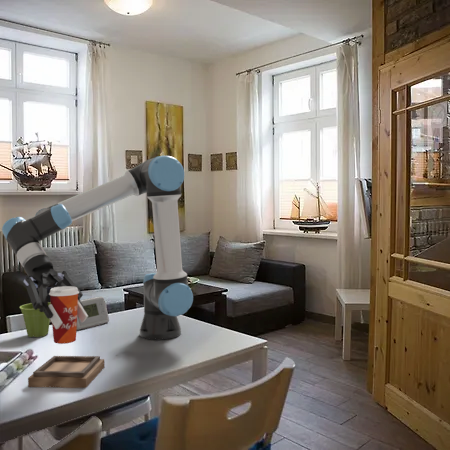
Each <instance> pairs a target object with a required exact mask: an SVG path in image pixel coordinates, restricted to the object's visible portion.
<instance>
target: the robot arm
mask: <svg viewBox="0 0 450 450" xmlns="http://www.w3.org/2000/svg"><path fill="white" fill-rule="evenodd" d="M184 180H185V170H184V167H183V165H182V163H181V162H180V161H179V160H178V159H177V158H175V157H173V156H170V155H160V156H159V155H158V156H155V157H152V158H148V159H147V160H145V161H143V162H141V163H140V164H139V165H136V166H134V167H133V168H131V169H128V170H126V171H124V174H123V175H121V176H119V177H116V178H114V179H112V180H110V181H107V182H105V183H102V184H100V185H98V186H95V187H93V188H90V189H88V190H86V191H83V192H81V193H79V194H77V195H74V196H72V197H69V198H67V199H65V200H61V201H59V202H58V203H56V204H52V205H50V206H48V207H45V208H41V209H40V210H38V211H37V212H36V214H35V215H34V216H33V217H30V218H28V219H25V218H24V217H23V216H16V217H11V218H9V219H8V220H6V221H5V222H4V223H3V225H2V228H1V230H2V234H3V235H4V236H3V237H4V238H5V240H6V241H7V243H8V245H9V246H10V248H11V250H12V251H13V253H14V254H15V256H16V258H17V260H18V261H19V263H20V265H21V266H22V267H23V270H24V271H25V273H26V274H27V276H26V277H25V278H24V280H23V281H22V286H24V288H25V289H26V291H27V294H28V297H29V299H30V303H32V305H33V308H34V309H35V310H37V309H39V311H40V312H44V313H45V315H46V317H47V318H48V319H49V318H50V322H51V324H52V323H53V325H54V327H55V328H56V329H58V328H59V327H60V326H61V324H62V323H63V322H62V321H61V319H60V317H59V316H58V314H57V312H56V311H55V309H54V307H53V306H52V304H50V305H49V306H48V302H49V299H48V289H47V288H54V287H62V286H73V287H77V288H78V286H77V285H76V284H75V283H74V282H73V280H71V278H70V276H69V275H68V273H67V272H66V271H65V270H63V271H62V272H57V271H56V270H55V269H54V264H53V262H52V260H51V259H50V257H49V256H48V255H47V252H46V251H45V250H44V248H43V246H42V245H41V243H40V242H41V241H44V239H47V238H49V237H50V236H52V235H54V234H56V233H59V232H60V231H62V230H65V229H66V228H67V227H69V226H71V225H72V224H73V221H77V220H78V219H80V218H83V217H86V216H88V215H90V214H92V213H94V212H96V211H99V210H101V209H104V208H106V207H108V206H110V205H113V204H116V203H117V202H120V201H122V200H125V199H127V198H129V197H132V196H135V197H139V196H141V195H143V194H146V197H147V199H148V200H149V201H150V202H151V206H152V207H151V208H152V217H153V218H152V220H153V231H154V232H153V233H154V245H155V247H154V248H155V258H156V260H155V261H156V272H155V273H154V272H153V273H146V274H144V276H143V281H142V284H143V312H144V313H143V317H142V321H141V323H140V328H139V337H141V338H142V339H145V340H146V339H147V340H151V341H152V340H153V341H155V340H156V341H157V340H158V341H160V340H169V339H174V338H177V337H179V336H180V335H182V328H181V324H180V321H179V318H178V316H179V317H180V316H182V315H184V314H185V313H187V312H188V311H189V310H190V308H191V307H192V305H193V302H194V294H193V291H192V289H191V287H190V286H189V280H188V273H187V272H186V271H184V269H183V261H182V260H183V259H182V248H181V247H182V246H181V245H182V244H181V234H180V233H181V231H180V217H179V204H178V201H179V199H180V198H181V196H182V184H183V182H184ZM36 285H37V287H36ZM78 291H79V293H78V307H77V315H78V317H79V319H80V320H81V322H84V321H85V320H86V319H87V317H88V315H87V313H86V312H85V310H84V306H83V304H82V303H81V301H80V300H81V298H82V297H83V295H84V294H83V292H82V291H81V290H80V289H79V288H78Z"/></svg>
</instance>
